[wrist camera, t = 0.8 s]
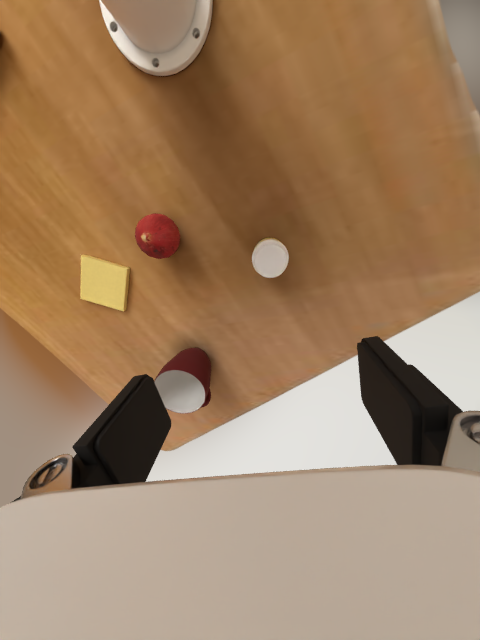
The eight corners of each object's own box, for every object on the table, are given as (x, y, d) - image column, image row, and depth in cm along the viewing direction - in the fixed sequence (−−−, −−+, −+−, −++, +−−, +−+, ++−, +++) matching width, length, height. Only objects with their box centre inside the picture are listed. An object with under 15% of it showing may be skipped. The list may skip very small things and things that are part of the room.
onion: (191, 251, 37) (173, 258, 29) (156, 258, 38) (130, 266, 30) (180, 211, 35) (158, 207, 27) (144, 219, 36) (113, 218, 28)
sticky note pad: (84, 297, 41) (80, 298, 40) (85, 254, 38) (80, 255, 38) (126, 309, 42) (123, 311, 41) (130, 267, 39) (127, 268, 38)
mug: (234, 373, 45) (226, 412, 35) (200, 390, 47) (184, 431, 38) (201, 330, 42) (183, 360, 33) (166, 350, 44) (141, 383, 35)
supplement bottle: (285, 268, 36) (291, 280, 29) (254, 270, 37) (252, 283, 29) (284, 235, 35) (290, 239, 27) (252, 238, 35) (249, 242, 27)
